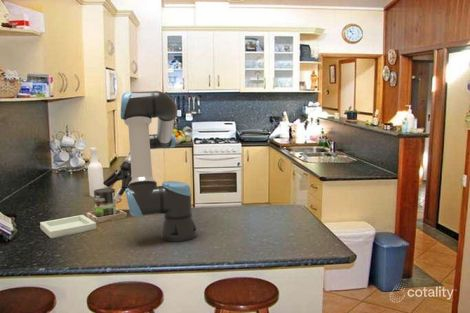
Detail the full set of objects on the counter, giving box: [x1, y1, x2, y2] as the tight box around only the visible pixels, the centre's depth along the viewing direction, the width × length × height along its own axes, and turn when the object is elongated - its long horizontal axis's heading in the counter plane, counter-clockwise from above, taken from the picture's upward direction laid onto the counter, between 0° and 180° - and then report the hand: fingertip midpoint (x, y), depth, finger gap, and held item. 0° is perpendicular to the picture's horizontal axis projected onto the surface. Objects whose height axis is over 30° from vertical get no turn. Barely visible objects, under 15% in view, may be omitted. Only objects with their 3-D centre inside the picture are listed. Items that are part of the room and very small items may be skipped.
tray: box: [39, 214, 97, 240], centre depth 212 cm, size 20×20×3 cm
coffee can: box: [93, 187, 117, 217], centre depth 230 cm, size 10×10×14 cm
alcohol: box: [87, 146, 105, 198], centre depth 282 cm, size 9×9×30 cm
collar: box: [85, 207, 128, 224], centre depth 230 cm, size 15×15×2 cm
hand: (107, 198), depth 231 cm, fingers open, 13 cm apart
